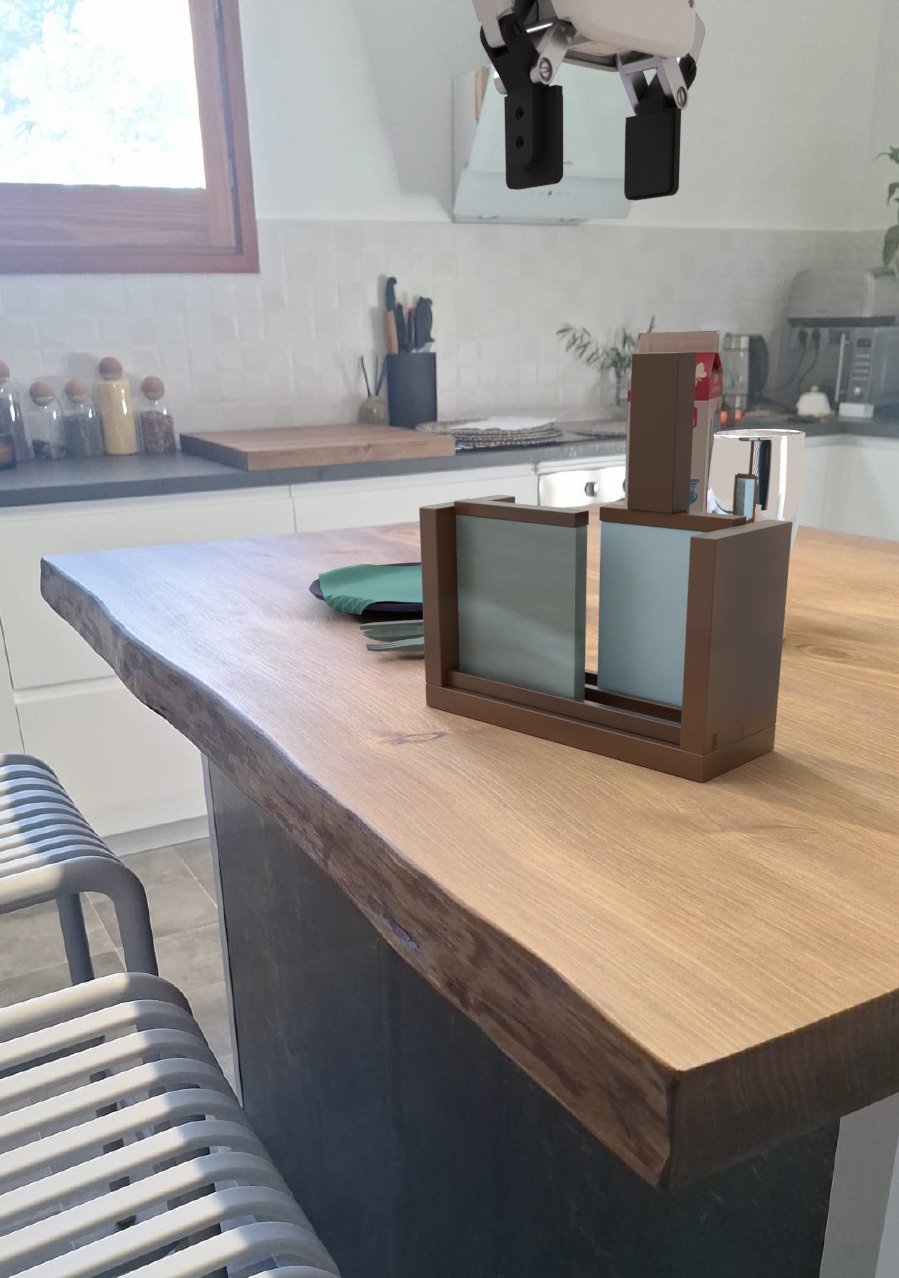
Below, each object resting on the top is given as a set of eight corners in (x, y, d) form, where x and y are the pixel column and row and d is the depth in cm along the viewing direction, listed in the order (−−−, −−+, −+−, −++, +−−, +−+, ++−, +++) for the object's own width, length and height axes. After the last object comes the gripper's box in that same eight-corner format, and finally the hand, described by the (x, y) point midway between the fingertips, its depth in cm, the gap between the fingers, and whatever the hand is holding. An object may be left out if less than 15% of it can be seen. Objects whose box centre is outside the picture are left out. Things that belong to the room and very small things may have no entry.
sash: (610, 685, 69) (618, 353, 62) (735, 714, 63) (760, 350, 56) (593, 691, 68) (599, 354, 61) (719, 720, 62) (742, 351, 55)
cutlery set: (507, 576, 113) (507, 553, 112) (584, 648, 86) (585, 618, 85) (307, 587, 111) (305, 563, 110) (319, 665, 83) (317, 634, 82)
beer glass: (679, 637, 88) (689, 434, 82) (733, 621, 92) (746, 427, 87) (756, 652, 83) (772, 437, 78) (809, 635, 87) (828, 430, 82)
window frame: (500, 682, 78) (498, 489, 73) (774, 749, 63) (793, 515, 59) (425, 705, 73) (418, 501, 68) (702, 783, 59) (716, 532, 54)
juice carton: (638, 589, 106) (646, 333, 97) (710, 592, 103) (725, 330, 95) (621, 603, 100) (629, 333, 92) (697, 607, 98) (712, 330, 89)
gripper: (539, -329, 44) (543, 170, 50) (769, -202, 55) (748, 193, 62) (406, -255, 49) (425, 191, 55) (642, -152, 60) (635, 208, 67)
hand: (595, 192), depth 59 cm, fingers open, 9 cm apart
